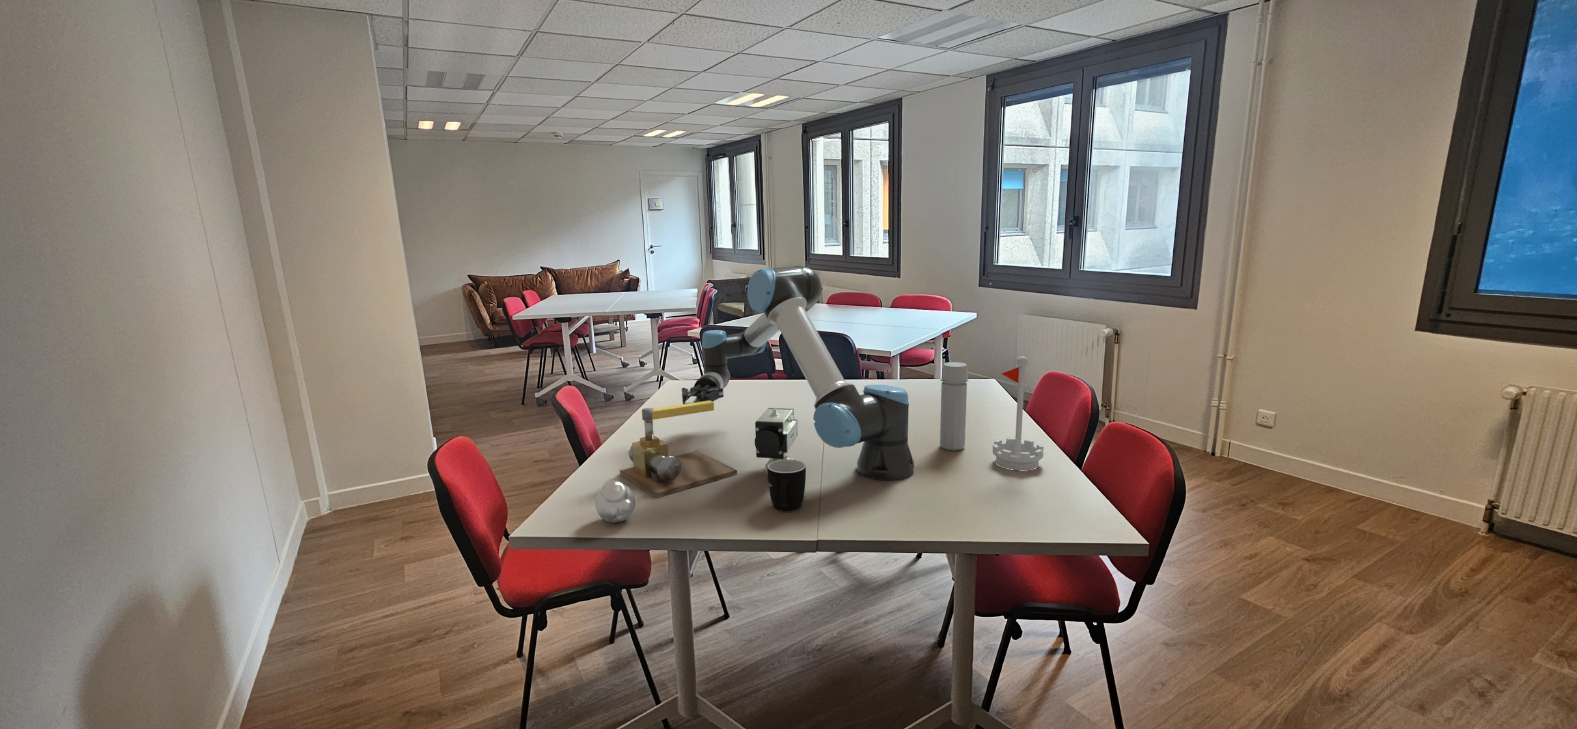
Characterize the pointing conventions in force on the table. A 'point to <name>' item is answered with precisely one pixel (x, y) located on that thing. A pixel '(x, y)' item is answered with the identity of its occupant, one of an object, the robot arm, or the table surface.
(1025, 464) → the flag stand
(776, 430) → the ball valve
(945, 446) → the water bottle
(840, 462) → the table surface
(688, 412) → the valve lever
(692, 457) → the walnut board
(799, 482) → the mug
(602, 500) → the round lidded jar
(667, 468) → the valve body
